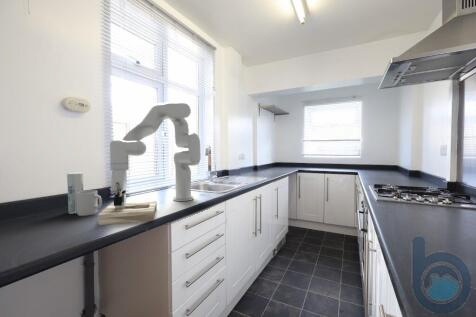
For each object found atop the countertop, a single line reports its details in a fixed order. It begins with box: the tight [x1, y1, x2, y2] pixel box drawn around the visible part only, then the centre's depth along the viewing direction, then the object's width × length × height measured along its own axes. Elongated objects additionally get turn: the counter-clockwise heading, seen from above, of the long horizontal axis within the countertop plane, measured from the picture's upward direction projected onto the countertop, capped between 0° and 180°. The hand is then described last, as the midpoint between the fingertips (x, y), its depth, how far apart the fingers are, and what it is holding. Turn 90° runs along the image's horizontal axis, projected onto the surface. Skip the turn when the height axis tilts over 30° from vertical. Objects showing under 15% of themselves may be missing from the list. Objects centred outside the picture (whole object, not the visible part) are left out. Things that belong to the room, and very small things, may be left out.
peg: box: [115, 192, 127, 210], centre depth 102 cm, size 6×6×11 cm
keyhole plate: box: [97, 201, 158, 226], centre depth 103 cm, size 18×22×4 cm
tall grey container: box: [66, 171, 84, 215], centre depth 110 cm, size 6×6×20 cm
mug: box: [76, 189, 103, 217], centre depth 108 cm, size 12×8×11 cm
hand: (120, 202), depth 102 cm, fingers open, 9 cm apart
